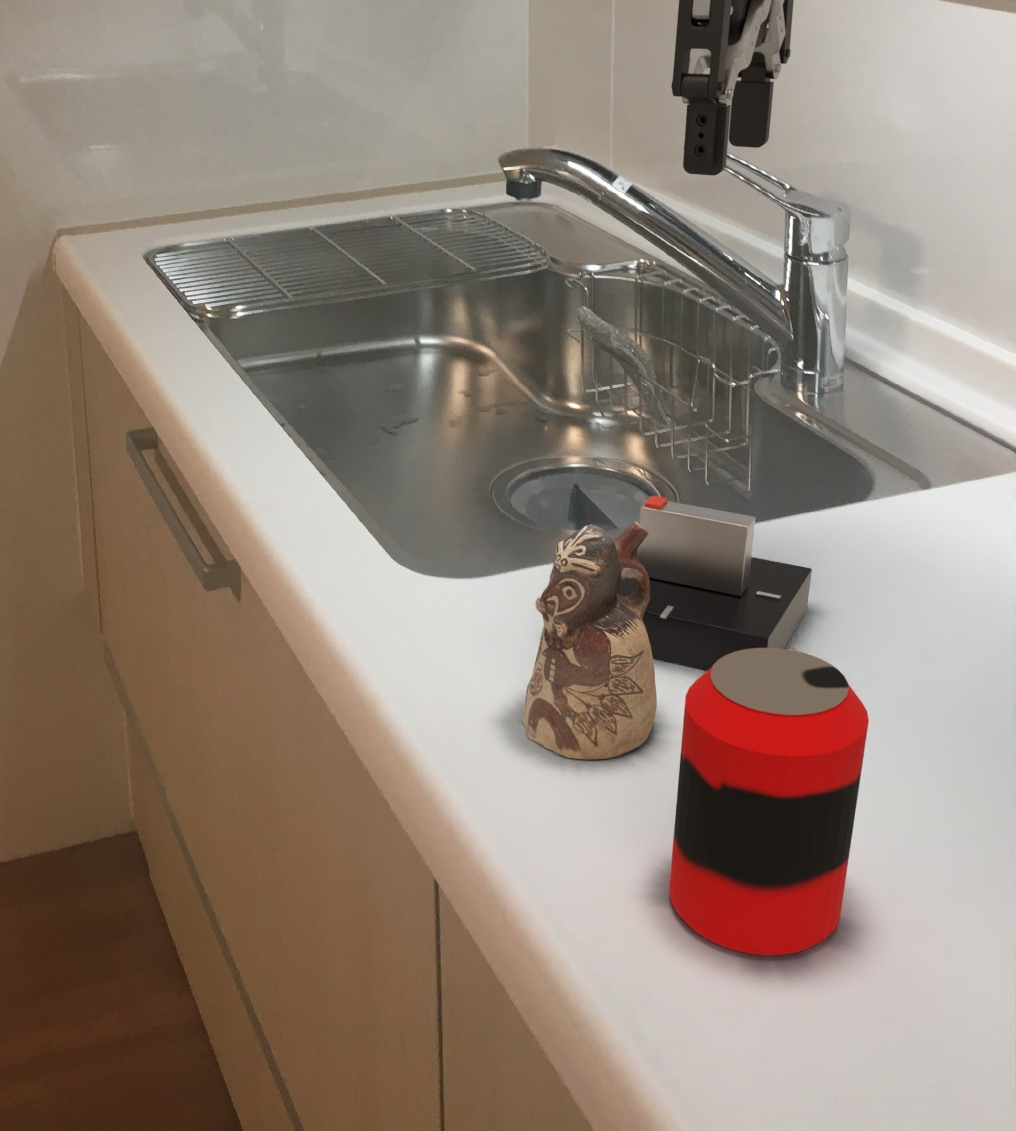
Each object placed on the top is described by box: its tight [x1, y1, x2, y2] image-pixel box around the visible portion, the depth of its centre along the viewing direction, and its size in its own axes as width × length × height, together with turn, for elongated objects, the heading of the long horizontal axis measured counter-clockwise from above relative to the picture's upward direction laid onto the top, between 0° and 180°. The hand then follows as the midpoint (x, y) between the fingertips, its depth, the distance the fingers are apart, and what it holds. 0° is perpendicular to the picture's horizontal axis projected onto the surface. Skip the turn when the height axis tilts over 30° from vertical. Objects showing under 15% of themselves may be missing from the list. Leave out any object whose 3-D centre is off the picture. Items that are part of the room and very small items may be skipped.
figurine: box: [521, 521, 658, 760], centre depth 83 cm, size 7×7×12 cm
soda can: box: [668, 648, 870, 957], centre depth 68 cm, size 8×8×12 cm
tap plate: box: [616, 548, 813, 671], centre depth 95 cm, size 12×11×3 cm
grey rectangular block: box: [637, 495, 756, 596], centre depth 93 cm, size 6×2×5 cm, turn 59°
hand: (726, 159), depth 89 cm, fingers open, 8 cm apart
